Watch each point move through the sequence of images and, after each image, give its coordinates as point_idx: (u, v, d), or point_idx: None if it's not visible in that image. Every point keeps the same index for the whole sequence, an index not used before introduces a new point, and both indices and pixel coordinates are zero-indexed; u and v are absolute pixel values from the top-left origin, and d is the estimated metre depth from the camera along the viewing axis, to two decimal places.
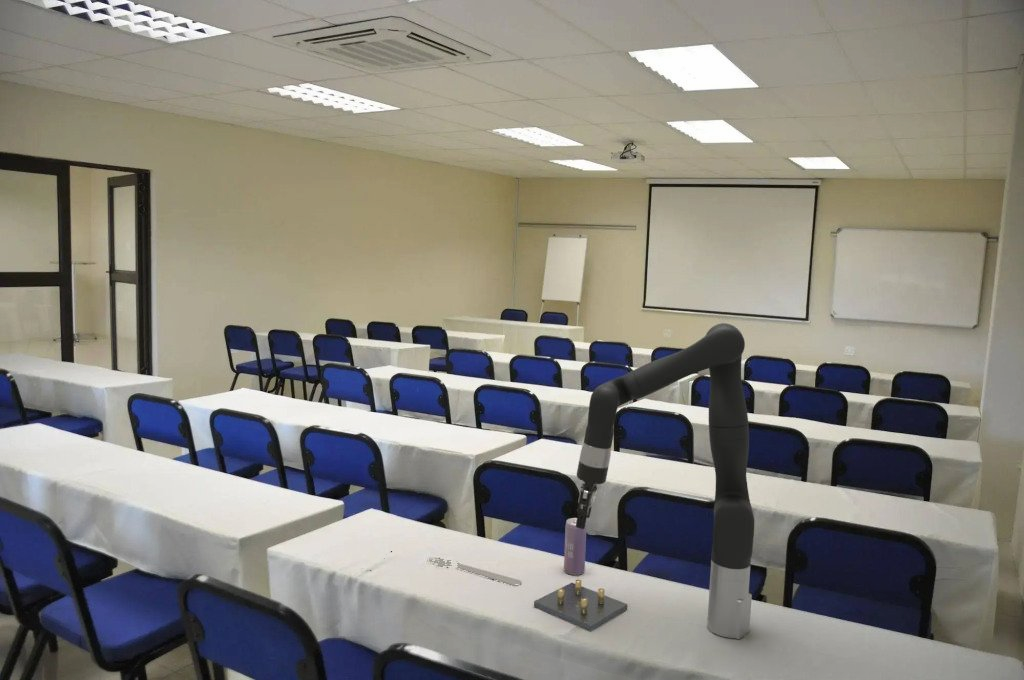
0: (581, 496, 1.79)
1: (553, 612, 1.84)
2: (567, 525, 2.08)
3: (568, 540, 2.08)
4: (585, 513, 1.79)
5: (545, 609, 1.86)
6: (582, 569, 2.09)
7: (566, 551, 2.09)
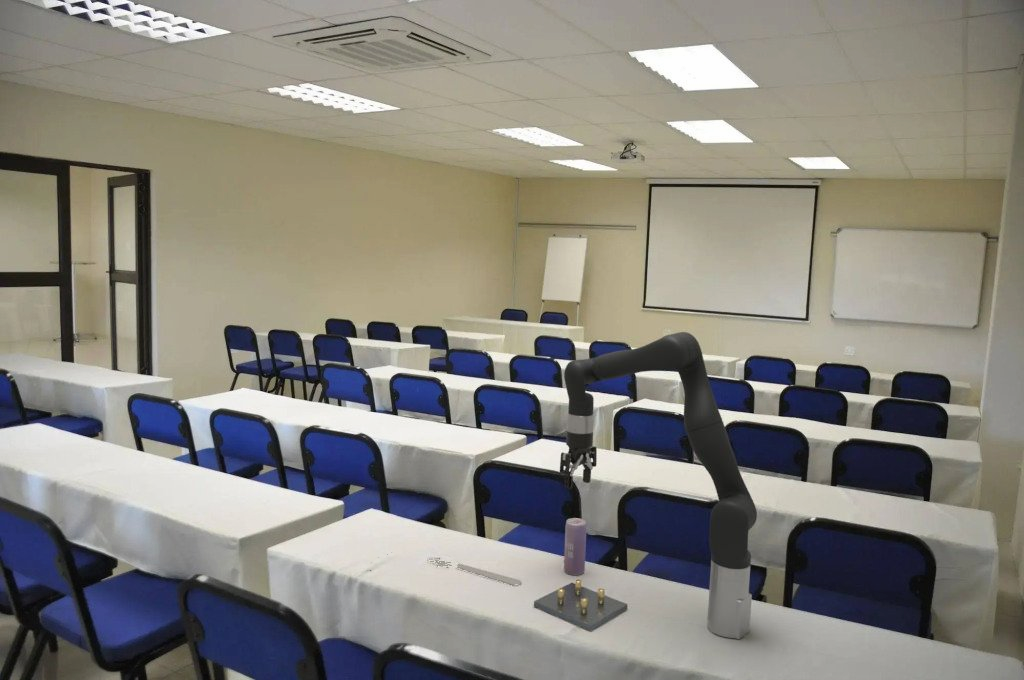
0: (561, 458, 2.03)
1: (553, 612, 1.84)
2: (567, 525, 2.08)
3: (568, 540, 2.08)
4: (565, 473, 2.02)
5: (545, 609, 1.86)
6: (582, 569, 2.09)
7: (566, 551, 2.09)
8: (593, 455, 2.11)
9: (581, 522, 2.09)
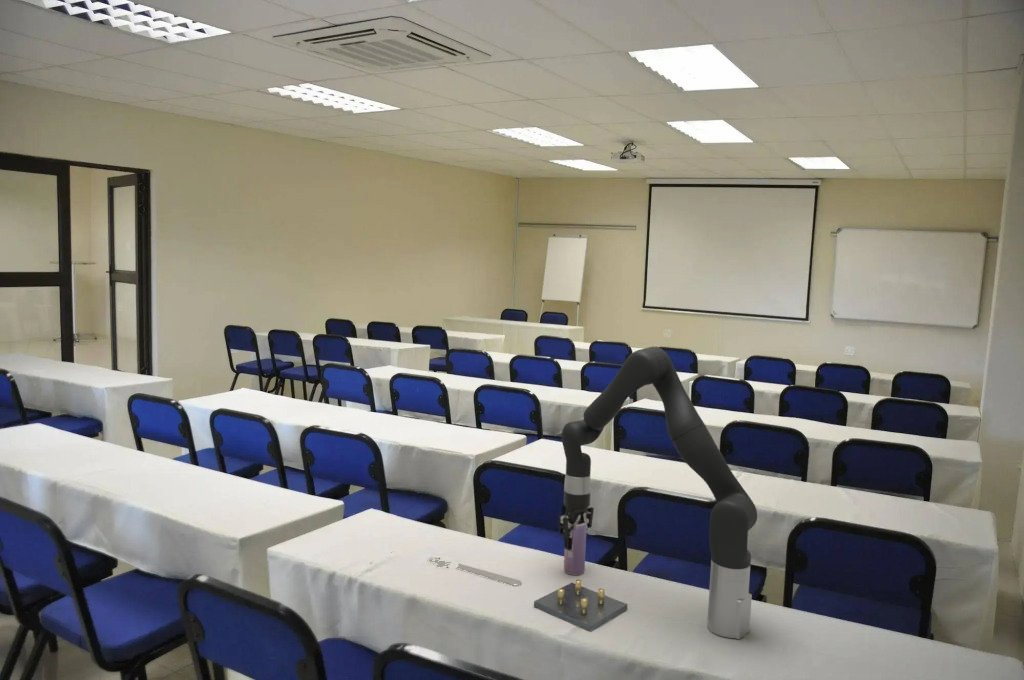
0: (559, 521, 2.05)
1: (553, 612, 1.84)
2: None
3: None
4: (565, 536, 2.05)
5: (545, 609, 1.86)
6: (582, 569, 2.09)
7: (566, 551, 2.09)
8: (589, 516, 2.13)
9: (581, 522, 2.09)
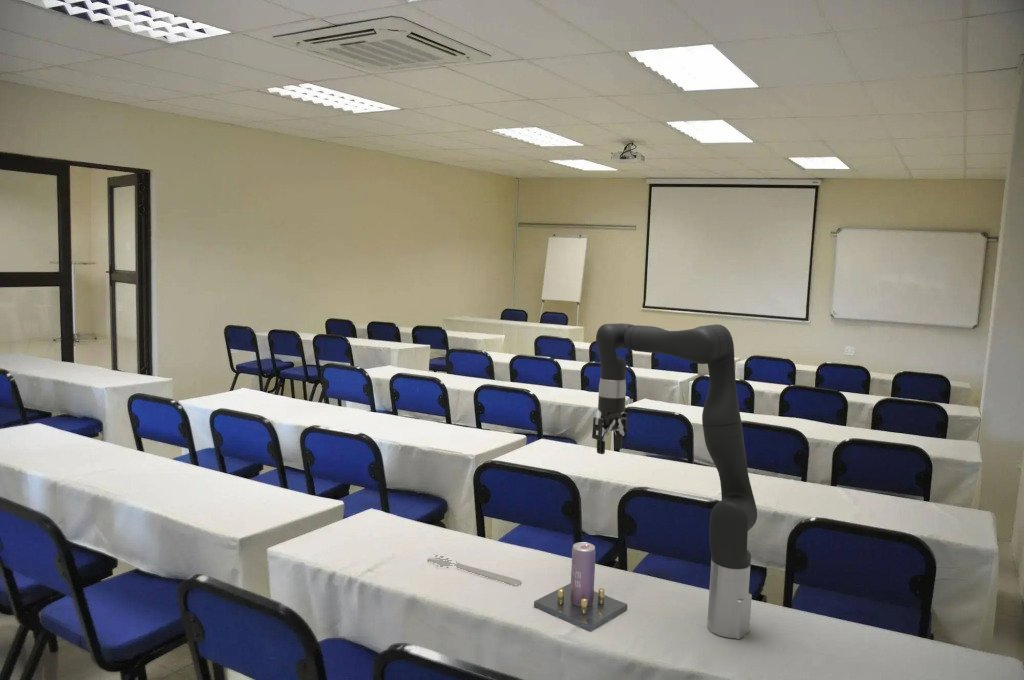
0: (594, 423, 2.01)
1: (553, 612, 1.84)
2: (574, 551, 1.86)
3: (575, 568, 1.85)
4: (598, 438, 2.00)
5: (545, 609, 1.86)
6: (591, 600, 1.86)
7: (573, 580, 1.86)
8: (625, 421, 2.09)
9: (589, 547, 1.87)
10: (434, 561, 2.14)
